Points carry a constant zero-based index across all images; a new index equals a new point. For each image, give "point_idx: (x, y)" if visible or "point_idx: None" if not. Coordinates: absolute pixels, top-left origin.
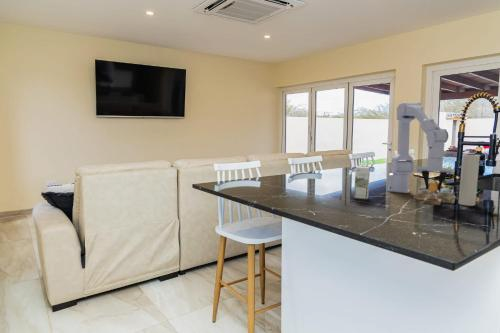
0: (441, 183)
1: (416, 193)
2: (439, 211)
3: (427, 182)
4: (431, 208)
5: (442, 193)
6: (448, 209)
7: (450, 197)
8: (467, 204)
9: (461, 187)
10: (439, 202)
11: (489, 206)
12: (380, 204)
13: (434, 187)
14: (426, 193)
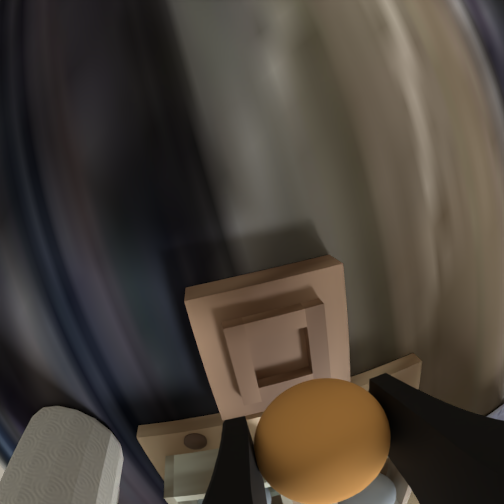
0: (208, 495)
1: None
2: (117, 21)
3: (427, 420)
4: (200, 76)
5: None
6: (74, 159)
7: (174, 469)
8: (46, 411)
9: None
10: (190, 296)
11: (5, 452)
12: (481, 15)
13: (295, 408)
14: None
